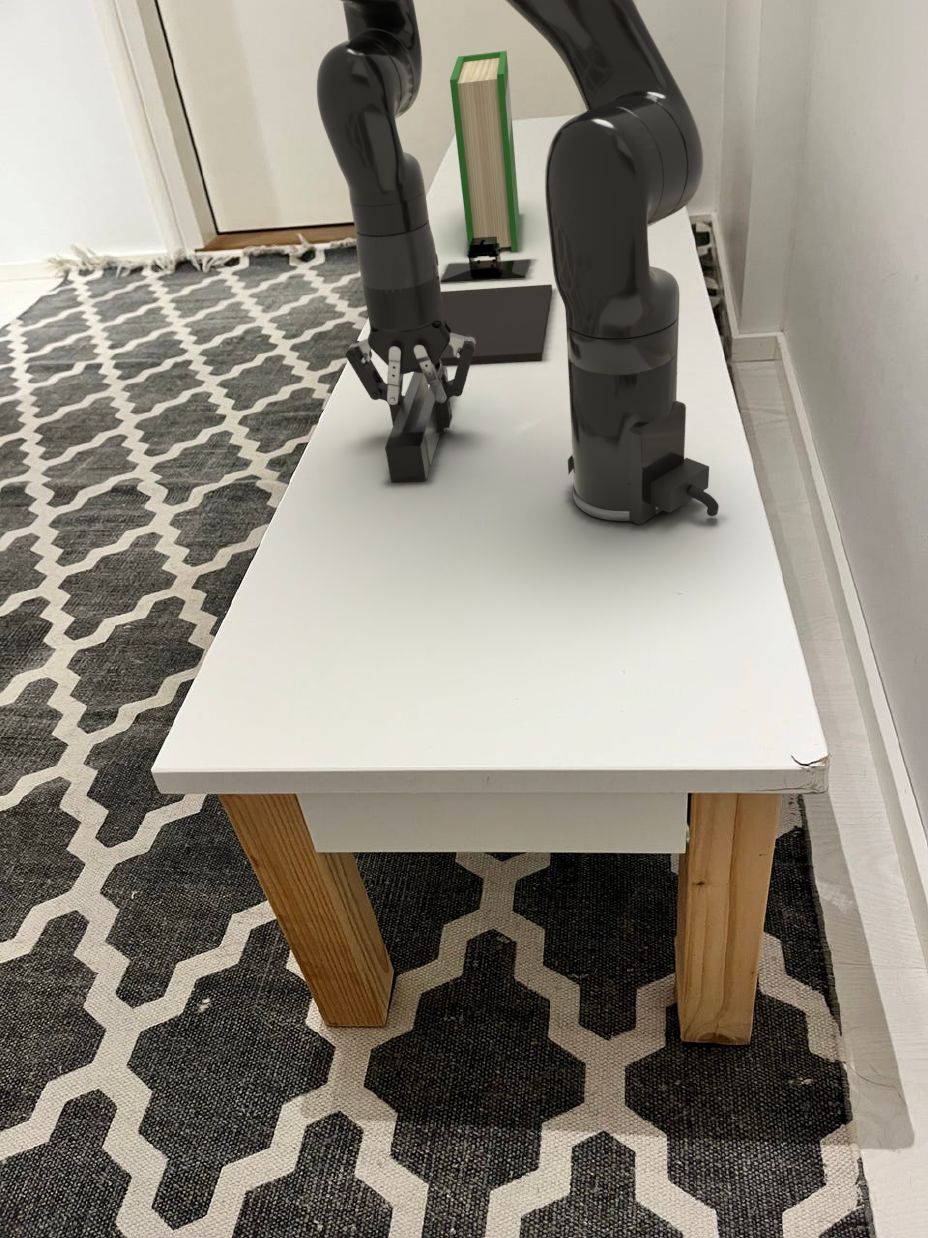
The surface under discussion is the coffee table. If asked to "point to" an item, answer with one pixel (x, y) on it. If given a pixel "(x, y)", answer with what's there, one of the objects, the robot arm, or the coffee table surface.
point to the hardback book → (486, 147)
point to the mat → (499, 322)
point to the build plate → (485, 264)
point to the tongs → (413, 433)
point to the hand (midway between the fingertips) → (424, 429)
